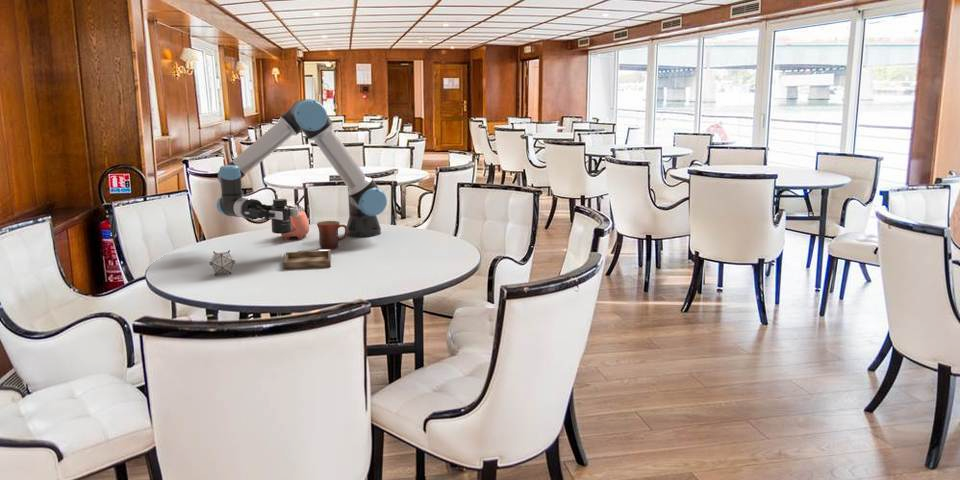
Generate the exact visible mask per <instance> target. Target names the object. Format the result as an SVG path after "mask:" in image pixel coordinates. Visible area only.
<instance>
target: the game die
mask: <svg viewBox="0 0 960 480" xmlns="http://www.w3.org/2000/svg"><path fill="white" fill-rule="evenodd" d="M212 252H213V256H212V259H211V260H210V261H209V262H208V264H209V266H212V268H213V270H214V272H215V274H214V276H217V274H228V273H229V275H232V268H233V267H234V266H233V265H234V264H236V260H233V258H232V256H231V254H230V252H231V251H230V250H227V251H226V252H224V251H223V252H216V251H215V250H214V251H212Z"/></svg>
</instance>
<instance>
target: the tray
mask: <svg viewBox="0 0 960 480" xmlns="http://www.w3.org/2000/svg"><path fill="white" fill-rule="evenodd" d="M331 252H332V251H331ZM331 252H330V250H329V251H308V252H298V251H291V252H288V251H287V252H285V257H284V261H283V270H301V269H302V270H304V269H317V268H319V269H320V268H322V269H323V268H331V267H332V266H331V264H332V261H331V260H332V256H331Z"/></svg>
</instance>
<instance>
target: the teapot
mask: <svg viewBox="0 0 960 480" xmlns="http://www.w3.org/2000/svg"><path fill="white" fill-rule="evenodd" d="M290 217H291V232H289V233H281V234H280V235H281V236H282V237H284V238H283V239H284V240H290V238H291V237H297V240H304V237H306V236H307V235H308V233H309V231H310V222H309V219H308V216H307V214H306V212H305V211H299V217H296V216H290Z"/></svg>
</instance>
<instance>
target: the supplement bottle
mask: <svg viewBox="0 0 960 480" xmlns="http://www.w3.org/2000/svg"><path fill="white" fill-rule="evenodd" d="M272 202H273V203H272V205H274V207H272V208H271V211H278V212H283V220H279V219H272V218H270V222H271V232H272V233H273V234H280V235H281V233H289V232H291V217H290V208H289V207H288V206H289V205H288V200H287V198H276V199H275V198H274V199H273V200H272ZM287 205H288V206H287Z"/></svg>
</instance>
